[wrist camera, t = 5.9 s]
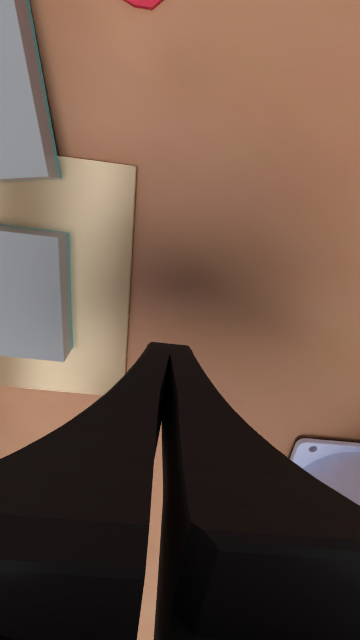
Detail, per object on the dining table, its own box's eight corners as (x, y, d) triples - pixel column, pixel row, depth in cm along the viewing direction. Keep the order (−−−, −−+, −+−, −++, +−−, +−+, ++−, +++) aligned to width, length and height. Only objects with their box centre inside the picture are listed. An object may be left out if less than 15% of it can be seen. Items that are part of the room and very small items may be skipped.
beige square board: (136, 166, 13) (135, 166, 12) (124, 393, 18) (123, 397, 17) (-166, 125, 12) (-173, 124, 12) (-89, 374, 17) (-93, 377, 17)
